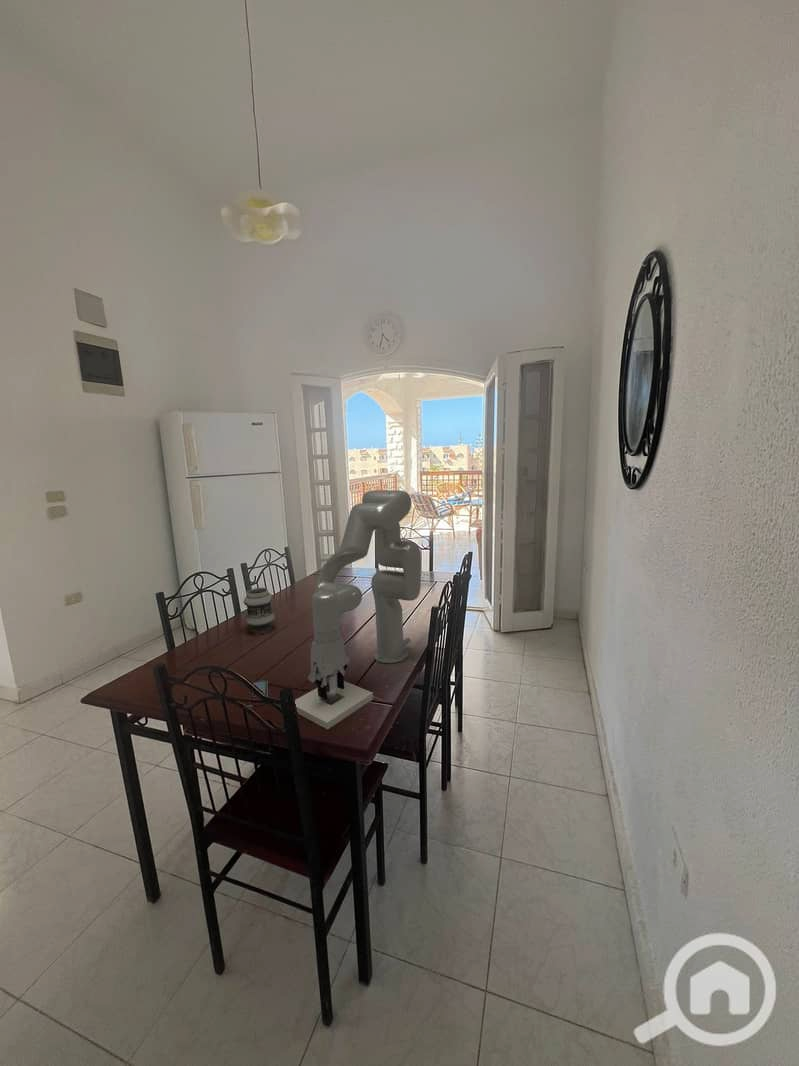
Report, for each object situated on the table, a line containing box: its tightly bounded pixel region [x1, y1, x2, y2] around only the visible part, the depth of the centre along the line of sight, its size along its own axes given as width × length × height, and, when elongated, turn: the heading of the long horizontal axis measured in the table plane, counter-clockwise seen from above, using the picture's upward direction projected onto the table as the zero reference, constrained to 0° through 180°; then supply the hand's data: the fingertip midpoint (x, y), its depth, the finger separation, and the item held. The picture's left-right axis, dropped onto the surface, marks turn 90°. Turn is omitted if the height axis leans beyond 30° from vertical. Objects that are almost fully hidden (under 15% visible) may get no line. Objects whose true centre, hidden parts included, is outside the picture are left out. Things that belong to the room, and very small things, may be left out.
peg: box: [325, 669, 339, 705], centre depth 125 cm, size 5×5×11 cm
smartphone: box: [248, 679, 269, 708], centre depth 133 cm, size 7×1×15 cm
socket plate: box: [294, 680, 374, 730], centre depth 125 cm, size 18×16×2 cm
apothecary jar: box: [243, 587, 276, 636], centre depth 182 cm, size 12×12×18 cm
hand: (331, 692), depth 125 cm, fingers open, 6 cm apart
